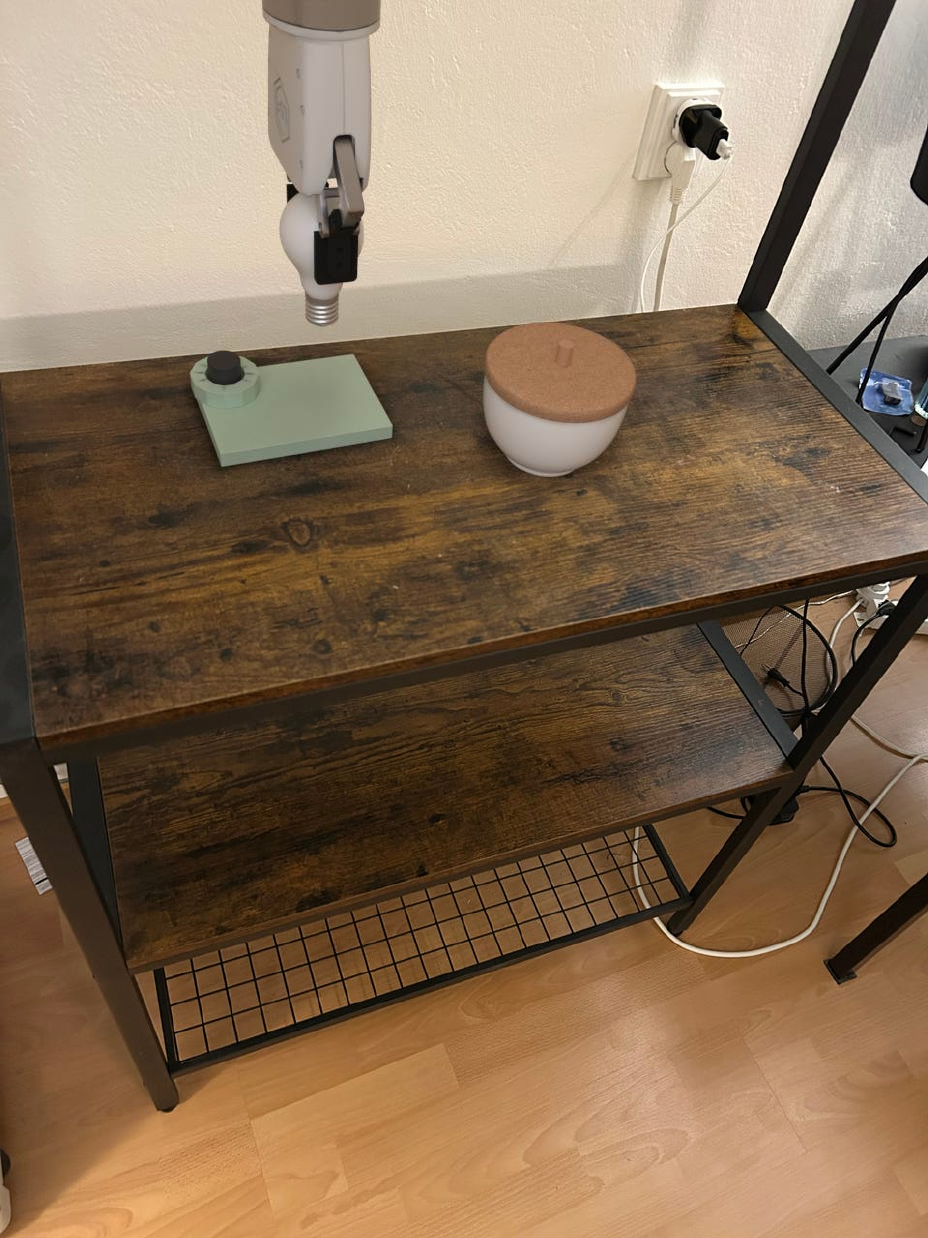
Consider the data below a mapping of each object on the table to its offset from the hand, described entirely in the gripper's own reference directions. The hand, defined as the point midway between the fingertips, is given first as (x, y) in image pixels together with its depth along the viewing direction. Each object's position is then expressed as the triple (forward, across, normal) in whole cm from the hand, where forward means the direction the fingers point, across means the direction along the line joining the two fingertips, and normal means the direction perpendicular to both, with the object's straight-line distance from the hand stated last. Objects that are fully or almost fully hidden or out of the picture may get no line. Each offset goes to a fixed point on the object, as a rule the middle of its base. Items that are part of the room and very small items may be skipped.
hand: (321, 254), depth 75 cm
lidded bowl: (+16, +10, +18) cm, 25 cm away
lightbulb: (+6, 0, 0) cm, 6 cm away
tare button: (+13, -4, -7) cm, 15 cm away
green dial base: (+15, -1, -2) cm, 16 cm away
